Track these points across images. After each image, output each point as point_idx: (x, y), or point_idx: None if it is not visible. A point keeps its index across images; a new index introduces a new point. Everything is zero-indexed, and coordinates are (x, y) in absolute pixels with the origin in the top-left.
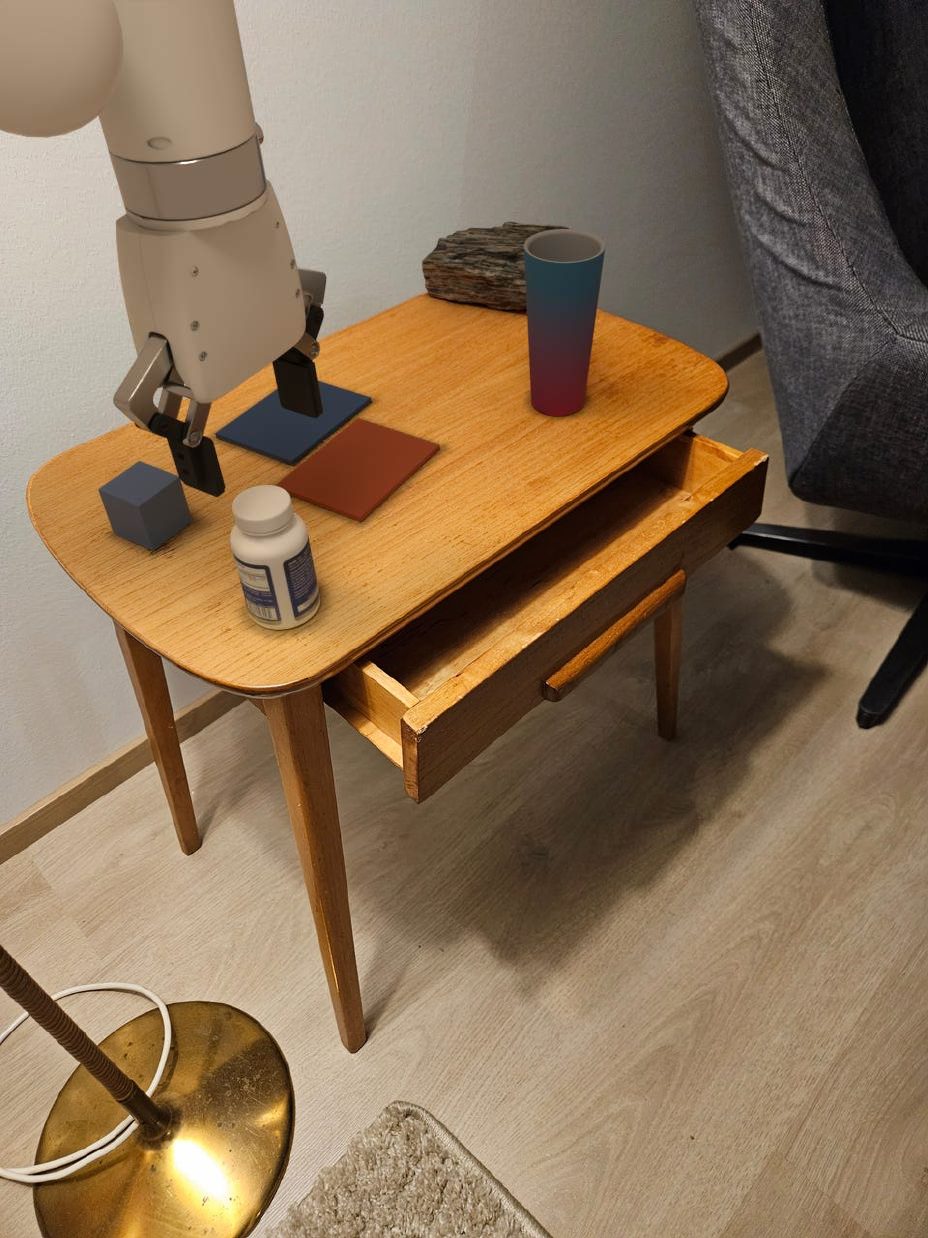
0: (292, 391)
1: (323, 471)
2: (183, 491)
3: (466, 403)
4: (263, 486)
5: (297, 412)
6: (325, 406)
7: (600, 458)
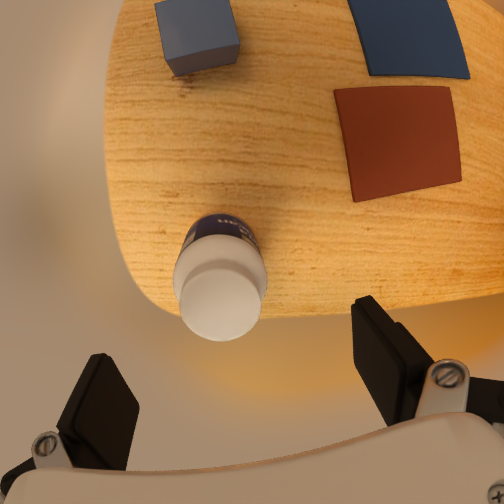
0: (369, 357)
1: (382, 115)
2: (237, 51)
3: (500, 155)
4: (244, 282)
5: (353, 333)
6: (440, 48)
7: (486, 283)
